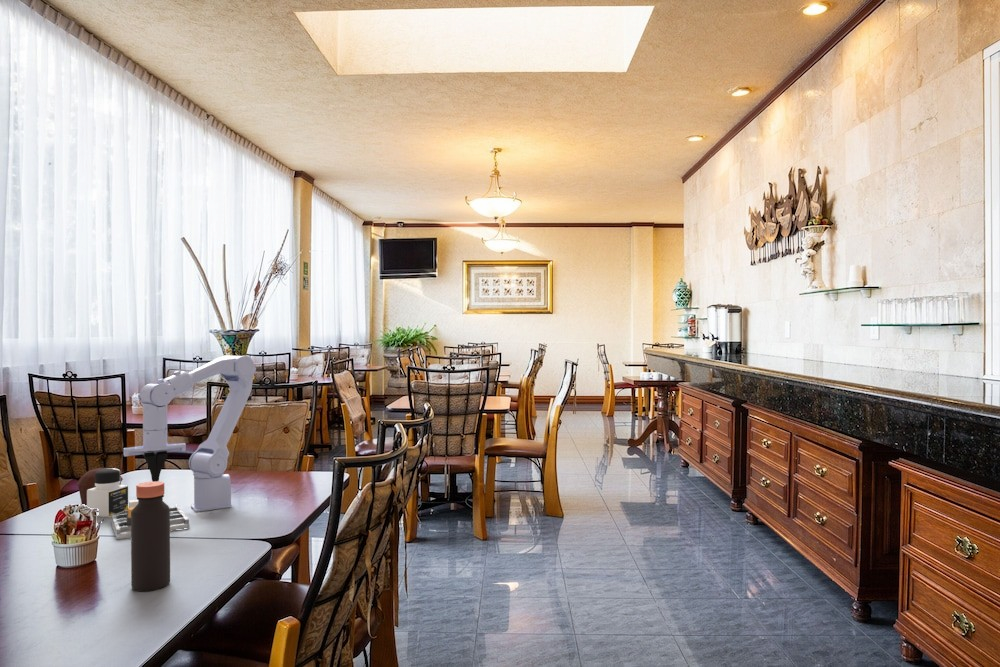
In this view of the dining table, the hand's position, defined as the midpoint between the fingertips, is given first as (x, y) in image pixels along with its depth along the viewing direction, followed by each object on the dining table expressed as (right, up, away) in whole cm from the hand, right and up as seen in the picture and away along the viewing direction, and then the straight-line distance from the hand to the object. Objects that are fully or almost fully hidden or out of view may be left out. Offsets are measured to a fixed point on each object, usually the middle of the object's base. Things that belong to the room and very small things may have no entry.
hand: (155, 480), depth 179 cm
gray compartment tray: (+1, -10, -4) cm, 11 cm away
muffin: (-25, -11, +17) cm, 32 cm away
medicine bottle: (-17, -11, +7) cm, 21 cm away
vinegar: (+22, -11, -45) cm, 52 cm away
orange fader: (0, -9, -10) cm, 13 cm away
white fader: (-4, -9, -3) cm, 10 cm away
